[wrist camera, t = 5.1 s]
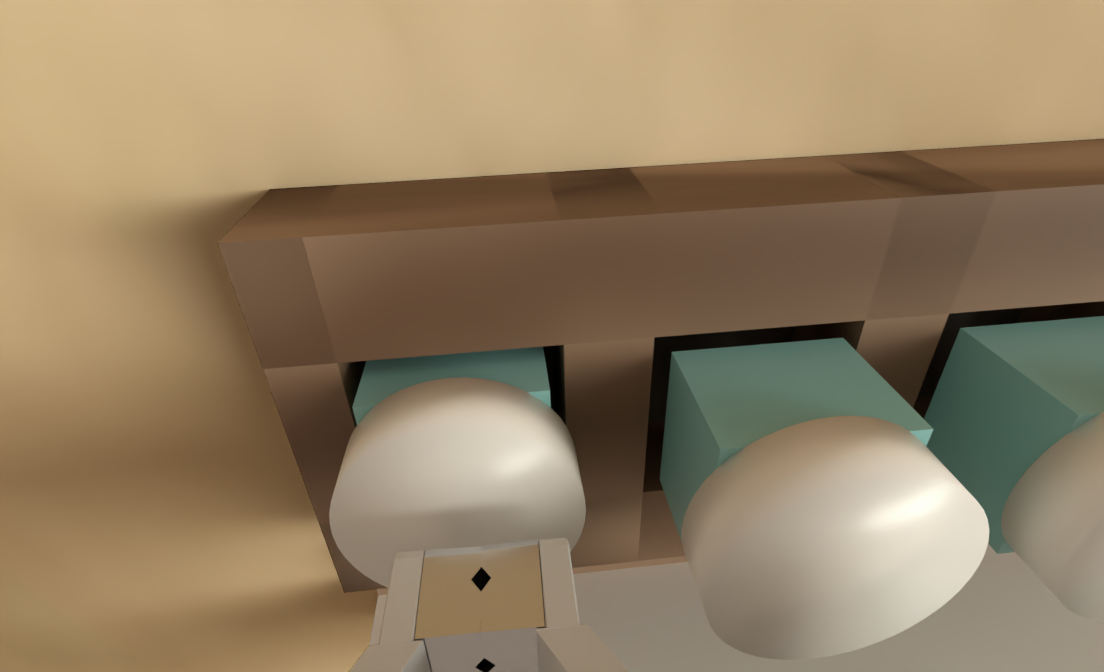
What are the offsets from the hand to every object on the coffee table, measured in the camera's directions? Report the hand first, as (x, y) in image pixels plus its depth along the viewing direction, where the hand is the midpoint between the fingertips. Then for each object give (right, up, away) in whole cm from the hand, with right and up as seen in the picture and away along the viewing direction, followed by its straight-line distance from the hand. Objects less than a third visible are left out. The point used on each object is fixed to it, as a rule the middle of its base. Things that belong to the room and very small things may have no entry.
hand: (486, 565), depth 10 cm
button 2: (+12, +3, +4) cm, 13 cm away
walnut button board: (+9, +4, +6) cm, 11 cm away
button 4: (-1, +3, +4) cm, 5 cm away
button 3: (+6, +2, +3) cm, 7 cm away
